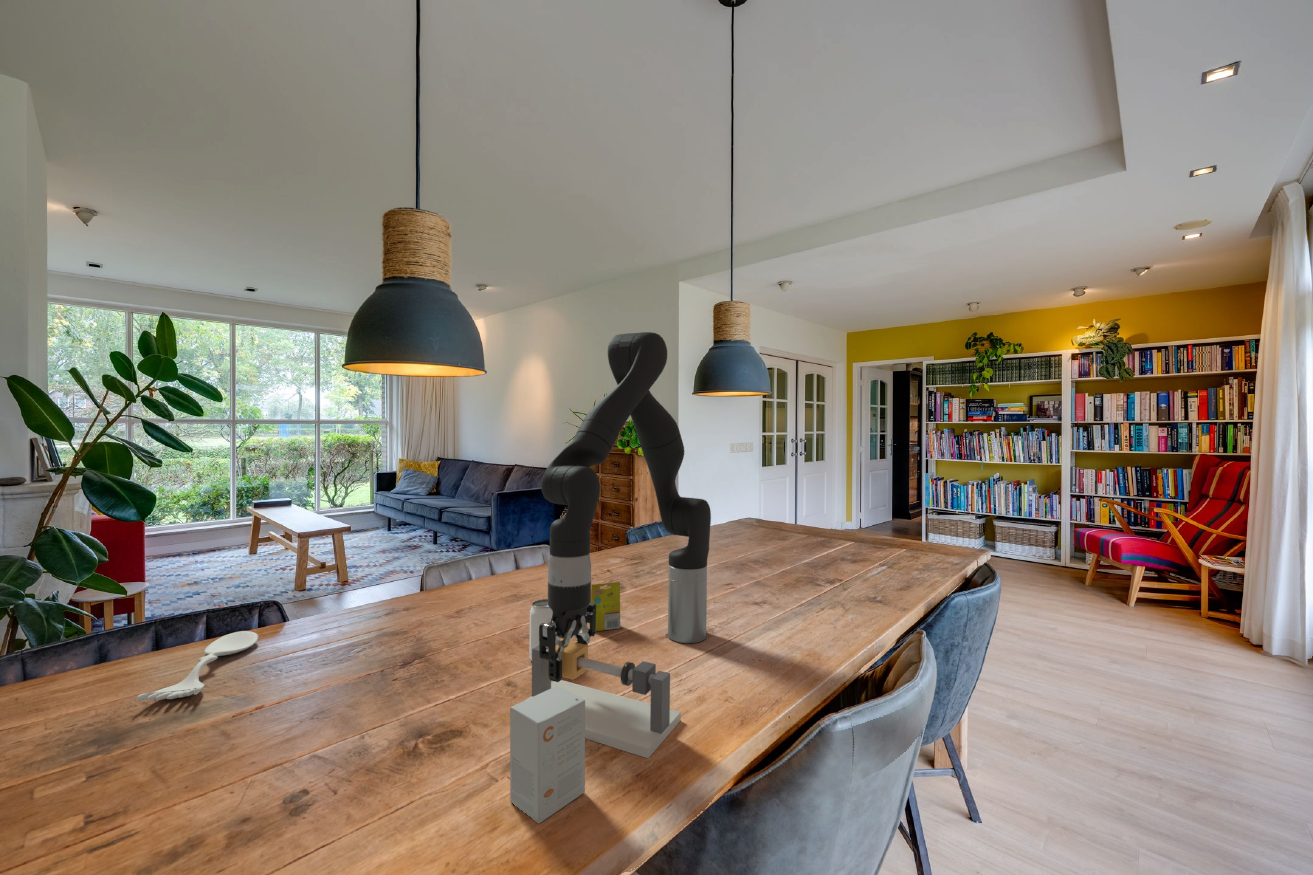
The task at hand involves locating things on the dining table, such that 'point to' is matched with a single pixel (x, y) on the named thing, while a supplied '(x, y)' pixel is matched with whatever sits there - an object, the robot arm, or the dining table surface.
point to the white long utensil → (217, 648)
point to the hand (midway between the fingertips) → (568, 671)
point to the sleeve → (573, 659)
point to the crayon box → (606, 605)
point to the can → (538, 621)
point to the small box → (547, 752)
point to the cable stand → (619, 704)
